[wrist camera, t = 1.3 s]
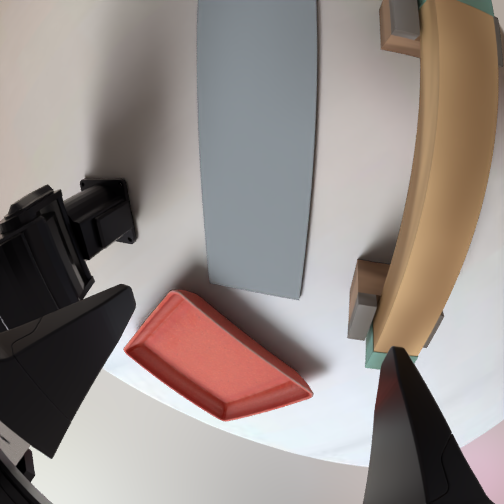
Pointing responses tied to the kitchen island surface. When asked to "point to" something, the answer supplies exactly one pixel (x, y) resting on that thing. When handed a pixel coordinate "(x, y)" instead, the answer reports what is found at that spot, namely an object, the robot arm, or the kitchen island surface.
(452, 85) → the rail
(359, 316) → the post
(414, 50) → the post
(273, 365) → the plant saucer
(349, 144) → the kitchen island surface
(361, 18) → the kitchen island surface
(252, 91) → the mat
